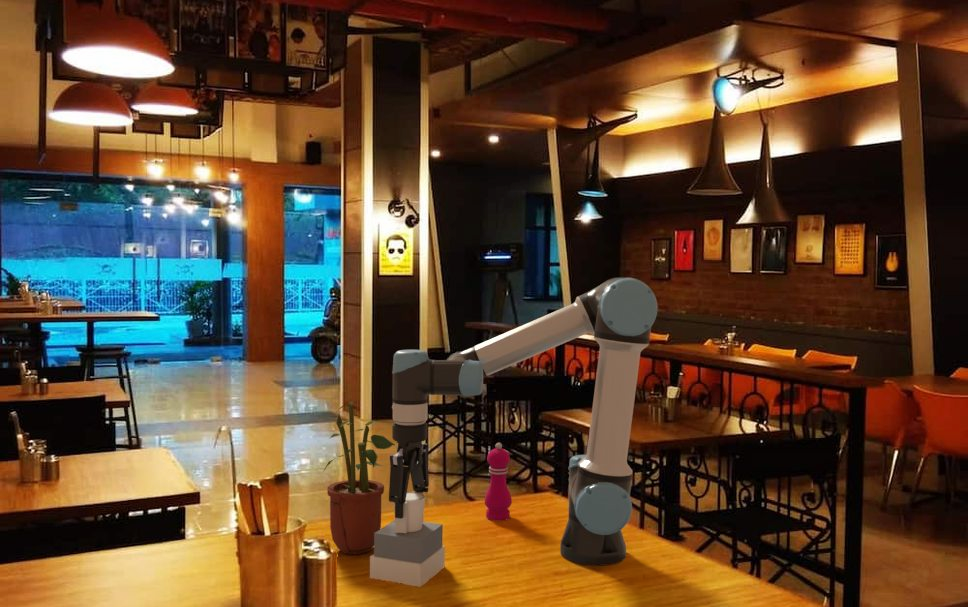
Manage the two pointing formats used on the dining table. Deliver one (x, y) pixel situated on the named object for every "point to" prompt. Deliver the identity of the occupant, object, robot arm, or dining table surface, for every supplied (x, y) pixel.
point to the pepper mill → (498, 485)
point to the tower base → (407, 569)
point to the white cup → (415, 510)
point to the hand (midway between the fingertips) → (409, 526)
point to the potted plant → (356, 493)
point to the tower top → (408, 542)
